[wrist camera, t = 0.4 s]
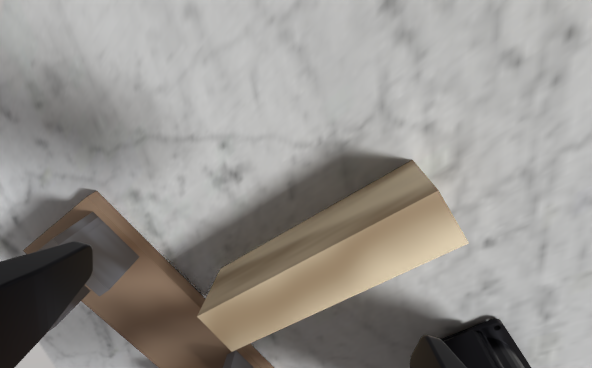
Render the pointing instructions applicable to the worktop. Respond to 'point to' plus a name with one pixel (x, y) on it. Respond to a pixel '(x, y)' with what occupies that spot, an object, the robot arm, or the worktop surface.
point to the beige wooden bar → (332, 257)
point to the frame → (141, 292)
